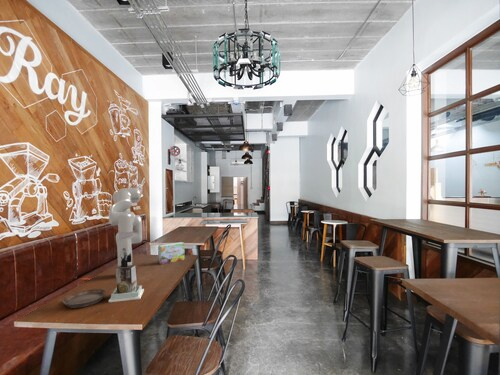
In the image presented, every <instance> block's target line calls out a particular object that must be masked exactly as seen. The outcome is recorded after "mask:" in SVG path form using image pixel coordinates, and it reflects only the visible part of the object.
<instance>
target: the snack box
mask: <svg viewBox="0 0 500 375" xmlns="http://www.w3.org/2000/svg"><path fill="white" fill-rule="evenodd" d="M157 252H158V253H157V254H158V255H157V257H158V258H157V259H158V260H157V262H158V263H157V264H158V265H166V263H167V264H171V262H172V263H177V262H180V261H181V260H182V261H184V260H185V242H182V241H179V242H172V243H166V244H160V245H157Z"/></svg>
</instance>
